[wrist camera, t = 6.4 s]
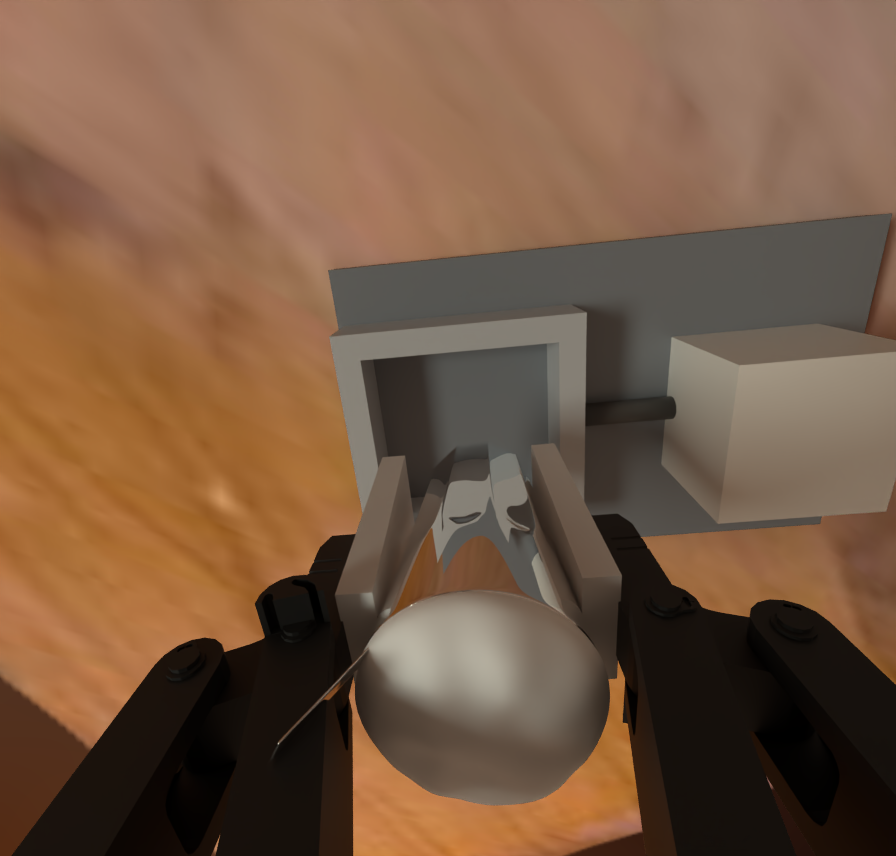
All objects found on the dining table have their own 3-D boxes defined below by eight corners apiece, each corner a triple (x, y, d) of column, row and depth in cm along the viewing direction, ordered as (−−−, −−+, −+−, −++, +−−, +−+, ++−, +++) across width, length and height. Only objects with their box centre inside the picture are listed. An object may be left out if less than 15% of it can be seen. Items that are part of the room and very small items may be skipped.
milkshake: (423, 388, 15) (326, 637, 5) (572, 456, 15) (717, 789, 6) (373, 500, 16) (231, 838, 7) (509, 557, 17) (544, 943, 8)
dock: (335, 269, 20) (286, 278, 14) (866, 215, 19) (1047, 202, 13) (382, 541, 25) (361, 631, 19) (802, 510, 24) (913, 595, 18)
